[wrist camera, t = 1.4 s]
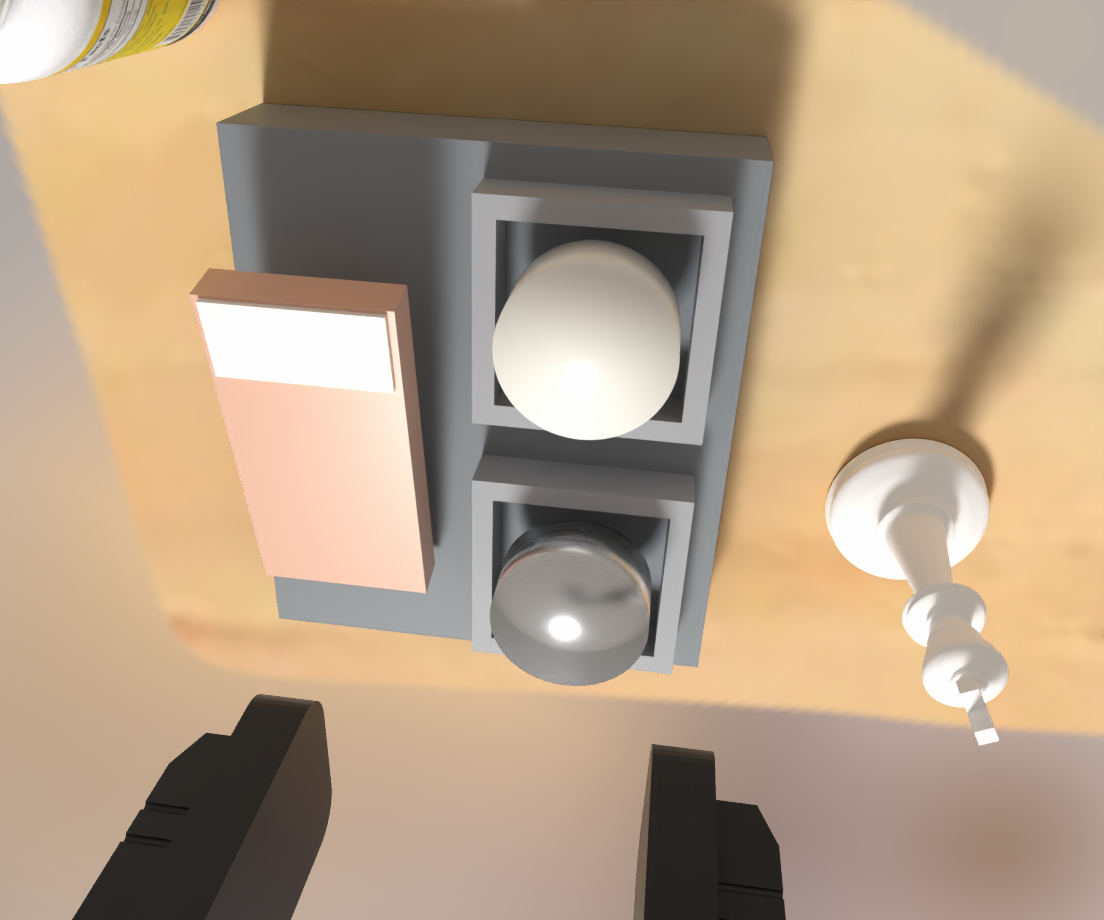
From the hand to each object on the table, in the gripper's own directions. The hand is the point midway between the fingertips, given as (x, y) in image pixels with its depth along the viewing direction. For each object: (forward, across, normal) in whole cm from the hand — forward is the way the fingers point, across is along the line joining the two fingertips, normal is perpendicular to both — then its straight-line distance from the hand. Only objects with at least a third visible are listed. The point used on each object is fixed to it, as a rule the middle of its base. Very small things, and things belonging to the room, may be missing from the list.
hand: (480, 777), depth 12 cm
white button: (+15, 0, 0) cm, 15 cm away
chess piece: (+19, -10, +7) cm, 23 cm away
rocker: (+14, +7, +4) cm, 16 cm away
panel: (+19, +3, +4) cm, 20 cm away
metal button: (+15, 0, +8) cm, 17 cm away
